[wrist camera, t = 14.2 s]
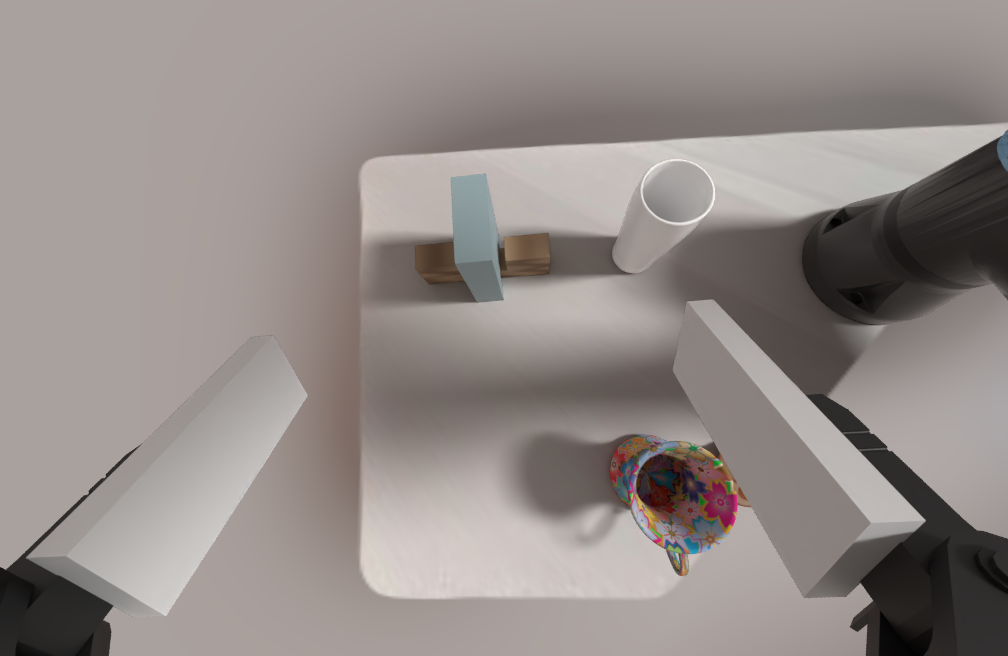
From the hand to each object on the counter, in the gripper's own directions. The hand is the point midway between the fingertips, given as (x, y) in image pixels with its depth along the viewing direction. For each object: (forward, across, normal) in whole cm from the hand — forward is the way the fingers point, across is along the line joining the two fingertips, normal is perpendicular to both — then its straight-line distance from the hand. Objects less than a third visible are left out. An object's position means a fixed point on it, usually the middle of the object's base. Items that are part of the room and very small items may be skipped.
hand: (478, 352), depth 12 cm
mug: (+15, +14, -33) cm, 39 cm away
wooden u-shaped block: (+35, -3, -13) cm, 37 cm away
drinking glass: (+35, +16, -13) cm, 41 cm away
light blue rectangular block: (+35, -3, -13) cm, 37 cm away
